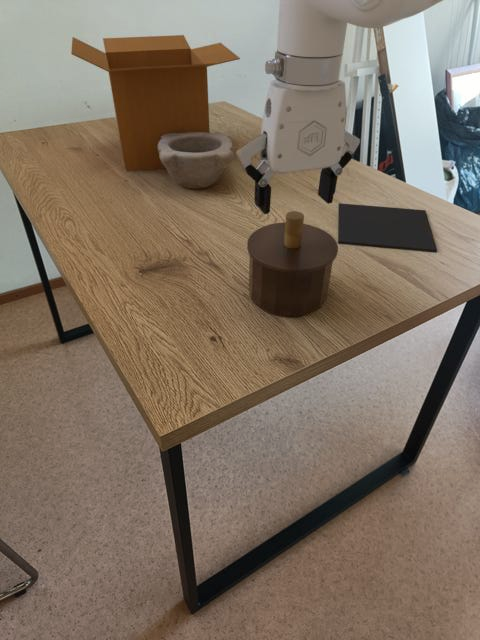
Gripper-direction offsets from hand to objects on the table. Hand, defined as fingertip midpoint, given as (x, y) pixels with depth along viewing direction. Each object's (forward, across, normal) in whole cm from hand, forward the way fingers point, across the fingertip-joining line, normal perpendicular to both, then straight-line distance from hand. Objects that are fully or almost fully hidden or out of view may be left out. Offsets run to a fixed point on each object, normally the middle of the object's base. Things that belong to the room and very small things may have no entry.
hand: (294, 204), depth 64 cm
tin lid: (+7, 0, 0) cm, 7 cm away
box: (+16, -5, +67) cm, 69 cm away
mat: (+16, +28, +13) cm, 34 cm away
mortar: (+16, -1, +47) cm, 50 cm away
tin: (+16, 0, 0) cm, 16 cm away
